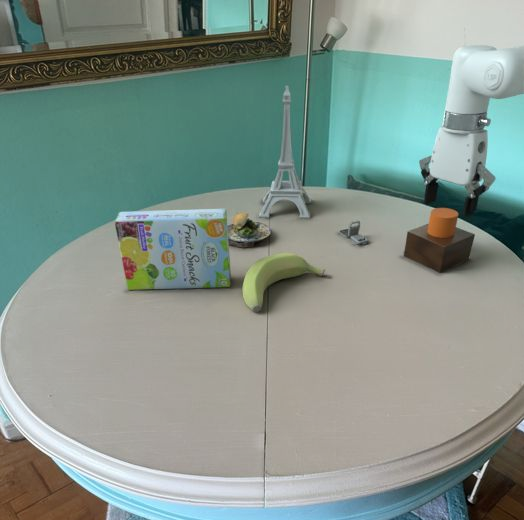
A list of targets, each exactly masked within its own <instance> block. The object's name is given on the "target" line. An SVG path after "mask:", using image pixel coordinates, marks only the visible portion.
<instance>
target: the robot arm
mask: <svg viewBox="0 0 524 520" xmlns="http://www.w3.org/2000/svg"><path fill="white" fill-rule="evenodd" d="M520 95H524V45H518V46H514V47H508V48H507V47H506V48H501V49H497V48H496V47H495V46H492V45H485V44H484V45H483V44H475V45H474V44H473V45H472V44H471V45H464V46H461V47H458V49H456V50H455V52H454V54H453V57H452V64H451V70H450V76H449V82H448V89H447V95H446V102H445V108H444V114H443V121H442V125H441V126H440V127H439V129H438V131H437V134H436V137H435V139H434V141H435V142H434V144H433V148H432V153H431V155H429V156H426V157H423V158H421V159H419V161H418V164H419V168H420V170H421V171H420V175H421V176H422V179H423V184H424V185H425V189H424V199H423V205H430V204H432V203H434V202H436V201H437V197H438V191H439V190H438V189H439V182H437V181H443V182H447V183H450V184H455V185H457V186H462V187H464V188H465V190H466V193H467V195H468V196H466V197H465V198H464V204H463V208H462V213H461V215H462V217H463V218H467V217H470V216H472V215H474V214H475V212H476V211H477V207H478V202H479V198H480V196H482V195H483V194H484V193H486V192H488V191H489V189H490V187H491V186H492V185H493V184H494V183H495V181H496V178H497V177H496V175H494V174H493V173H492V172H491V171H490V170H489V169H488V168H487V167H486V163H487V158H488V156H487V155H488V146H489V143H488V141H489V140H488V139H489V138H488V129H484V128H485V127H489V126H490V125H491V123H492V120H491V118H488V110H489V104H490V99H494V100H503V99H508V98H512V97H516V96H520ZM481 181H483V182H482V184H481V185H480V182H481Z"/></svg>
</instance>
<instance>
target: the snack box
mask: <svg viewBox="0 0 524 520" xmlns="http://www.w3.org/2000/svg"><path fill="white" fill-rule="evenodd" d="M227 212H228V211H227V208H203V209H202V208H201V209H171V210H169V209H168V210H135V211H119V212H118V213H117V216H116V219H115V221H114V226H115V232H116V237H117V243H118V247H119V252H120V257H121V262H122V263H121V264H122V269H123V273H124V276H125V283H126V288H127V290H128V291H133V290H134V291H135V290H169V289H171V290H172V289H174V290H175V289H206V288H209V289H210V288H230V287H231V279H232V278H231V277H232V271H231V257H230V244H229V242H228V227H227V226H228V213H227Z"/></svg>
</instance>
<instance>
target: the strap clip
mask: <svg viewBox="0 0 524 520" xmlns="http://www.w3.org/2000/svg"><path fill="white" fill-rule="evenodd" d="M355 224H357V225H355ZM360 229H361V222H360V220H352V221H351V222H350V223H349V224H348V228H346V229H341V230H339V233H340V235H341V236H342V237H345V238H347V239H348V238H350V241H351V242H352V243H354V244H355V245H358V246H360V245H364V244H365V245H366V244H368V243H369V239H368V238H367V237H366V236H364V235H363V234H360V233H359V232H360Z"/></svg>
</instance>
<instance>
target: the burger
mask: <svg viewBox="0 0 524 520" xmlns="http://www.w3.org/2000/svg"><path fill="white" fill-rule="evenodd" d="M227 227H228V242H229V246H230V245H231V246H232V247H237V248H244V249H245V248H253V247H254V244H255V243H256V242H261V241H263V240H265V239H266V238H268V237H269V236H270V235H271V233H272V229H271V228H270V227H269V226H268V225H266V224H265V223H262V222H259V221H257V222H256V221H253V220H252V219H250V218H249V214H248V213H247V212H239V213H237V214H236V215H235V216H234V218H233V221H232V223H231V224H229V225H227Z"/></svg>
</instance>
